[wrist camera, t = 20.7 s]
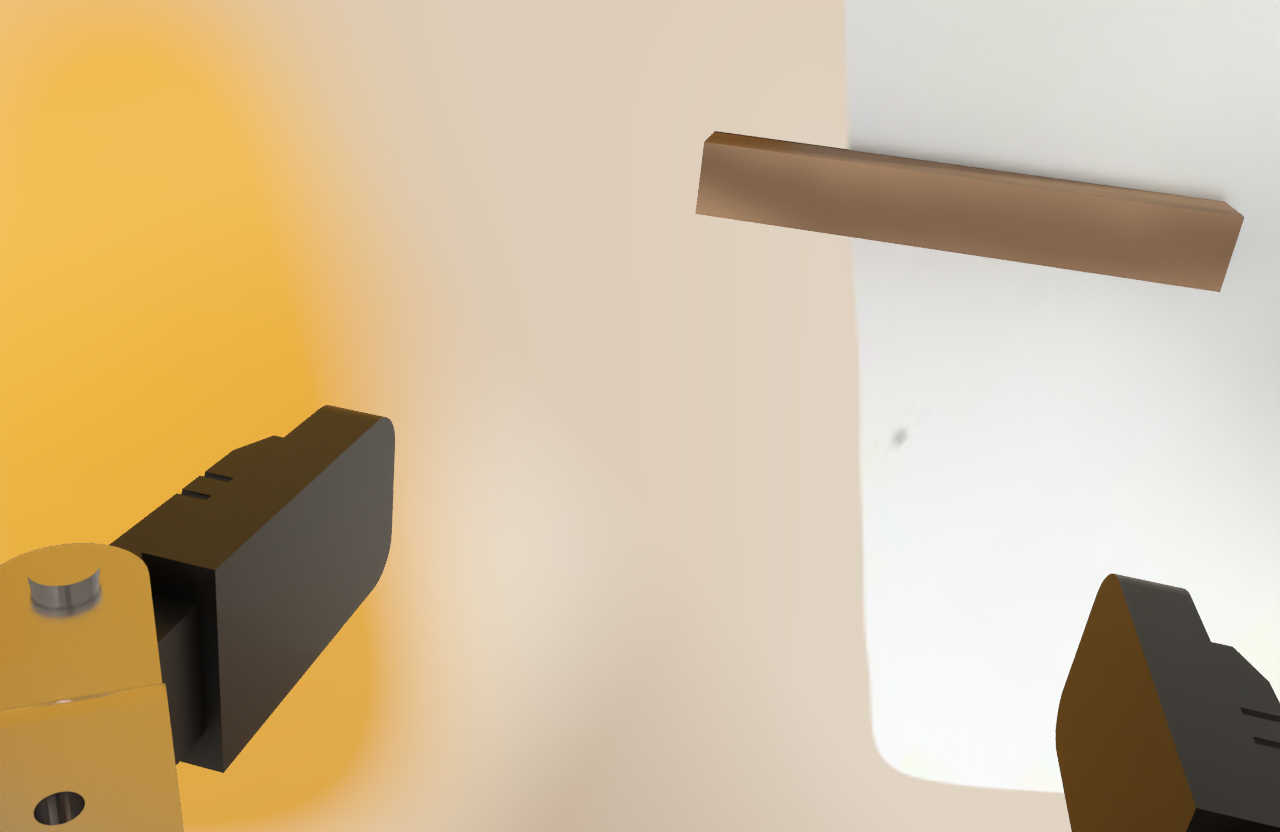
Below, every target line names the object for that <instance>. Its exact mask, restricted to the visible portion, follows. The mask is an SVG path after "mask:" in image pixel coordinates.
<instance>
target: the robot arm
mask: <svg viewBox="0 0 1280 832" xmlns="http://www.w3.org/2000/svg"><path fill="white" fill-rule="evenodd" d="M394 452H395V433H394V427H393V424H392V422H391V421H390V419H388V418H386V417H382V416H376V415H372V414H368V413H363V412H358V411H353V410H349V409H344V408H339V407H334V406H329V405H326V406H323V407H322V408H320V409H319V410H317V411H316V412H315V413H314V414H313V415H311V416H310V417H309V418H308V419H306V420H305V421H304V422H303V423H301V424H300V425H299V426H298V427H296V428H295V429H294V430H293V431H291V432H290V433H289V434H288V435H287V436H285V437H284V438H283V437H278V436H271V437H268V438H266V439H263V440H260V441H258V442H255V443H252V444H249V445H247V446H244V447H241V448H238V449H236V450H233V451H232V452H230V453H229V454H228V455H226V456H225V457H224V458H222V459H221V460H220V461H219V462H217V463H216V464H215V465H213V466H212V467H211V468H209V469H208V470H207V471H206V472H205V476H204V477H203V476H199V477H198V478H196V479H195V480H194V481H193V482H191V483H190V484H188V485H187V486H186V487H185V488H183V490H182V493H181V494H175V495H174V496H173V497H172V498H170V499H169V500H167V501H166V502H165V503H164V504H162V505H161V506H160V507H158V508H157V509H156V510H155V511H153V512H152V513H150V514H149V515H148V516H147V517H145V518H144V519H143V520H141V521H140V522H139V523H137V524H136V525H135V526H133V527H132V528H131V529H129V530H128V531H127V532H126V533H124V534H123V535H122V536H120V537H119V538H118V539H116V540H115V541H114V542H112V543H111V544H110V545H104V544H95V543H74V544H63V545H56V546H50V547H46V548H42V549H38V550H34V551H31V552H28V553H25V554H22V555H20V556H18V557H15V558H13V559H11V560H9V561H7V562H5V563H3V564H2V565H0V832H184V829H183V821H182V812H181V804H180V796H179V788H178V780H177V772H176V765H177V764H178V763H179V762H180V761H181V762H185V763H189V764H192V765H196V766H201V767H204V768H207V769H211V770H215V771H219V772H222V773H224V772H225V770H226V769H227V768H228V767H229V765H230V764H231V763H232V762H233V760H234V759H235V758H236V757H237V756H238V754H239V753H240V752H241V751H242V749H243V748H244V747H245V746H246V744H247V743H248V742H249V741H250V740H251V738H252V737H253V736H254V735H255V733H256V732H257V731H258V730H259V729H260V727H261V726H262V725H263V723H264V722H265V721H266V720H267V719H268V717H269V716H270V715H271V714H272V713H273V711H274V710H275V709H276V708H277V706H278V705H279V704H280V703H281V701H282V700H283V699H284V698H285V697H286V695H287V694H288V693H289V692H290V690H291V689H292V688H293V687H294V685H295V684H296V683H297V682H298V681H299V679H300V678H301V677H302V676H303V674H304V673H305V672H306V671H307V670H308V668H309V667H310V666H311V665H312V663H313V662H314V661H315V660H316V659H317V657H318V656H319V655H320V654H321V652H322V651H323V650H324V649H325V647H326V646H327V645H328V644H329V642H330V641H331V640H332V639H333V638H334V636H335V635H336V634H337V633H338V631H339V630H340V629H341V628H342V627H343V625H344V624H345V623H346V622H347V620H348V619H349V618H350V617H351V616H352V614H353V613H354V612H355V611H356V609H357V608H358V607H359V606H360V605H361V603H362V602H363V601H364V600H365V598H366V597H367V596H368V595H369V593H370V592H371V591H372V590H373V588H374V587H375V586H376V584H377V582H378V581H379V579H380V577H381V574H382V572H383V570H384V567H385V564H386V561H387V558H388V554H389V549H390V543H391V534H392V509H393V479H394ZM1056 751H1057V757H1058V762H1059V767H1060V772H1061V777H1062V783H1063V788H1064V793H1065V798H1066V803H1067V809H1068V813H1069V819H1070V824H1071V829H1072V832H1280V703H1279V701H1278V699H1277V697H1276V695H1275V693H1274V691H1273V689H1272V687H1271V685H1270V683H1269V681H1268V680H1266V679H1265V678H1264V677H1263V676H1262V675H1261V674H1260V673H1259V672H1258V671H1257V670H1256V669H1255V668H1254V667H1253V666H1252V665H1251V664H1250V663H1249V662H1248V661H1247V660H1246V659H1245V658H1244V657H1243V656H1242V655H1241V654H1240V653H1239V652H1237V651H1236V650H1235V649H1234V648H1233V647H1231V646H1226V645H1222V644H1217V643H1213V642H1211V641H1210V639H1209V637H1208V634H1207V632H1206V630H1205V627H1204V625H1203V623H1202V621H1201V618H1200V616H1199V614H1198V612H1197V609H1196V607H1195V605H1194V603H1193V600H1192V598H1191V596H1190V594H1189V592H1188V591H1187V590H1186V589H1183V588H1178V587H1174V586H1169V585H1164V584H1159V583H1155V582H1150V581H1145V580H1141V579H1136V578H1131V577H1127V576H1122V575H1117V574H1110V575H1108V576H1107V577H1106V578H1105V579H1104V581H1103V582H1102V584H1101V586H1100V588H1099V590H1098V593H1097V596H1096V598H1095V601H1094V604H1093V607H1092V610H1091V612H1090V615H1089V618H1088V621H1087V624H1086V627H1085V629H1084V632H1083V635H1082V638H1081V641H1080V644H1079V647H1078V649H1077V652H1076V655H1075V658H1074V661H1073V664H1072V666H1071V669H1070V672H1069V675H1068V678H1067V681H1066V683H1065V686H1064V689H1063V692H1062V696H1061V700H1060V704H1059V709H1058V715H1057V723H1056Z"/></svg>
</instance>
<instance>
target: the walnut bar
mask: <svg viewBox="0 0 1280 832" xmlns="http://www.w3.org/2000/svg"><path fill="white" fill-rule="evenodd" d="M696 214H701V215H708V216H714V217H721V218H728V219H735V220H741V221H748V222H755V223H762V224H768V225H775V226H781V227H788V228H795V229H802V230H808V231H815V232H822V233H828V234H835V235H842V236H848V237H855V238H862V239H868V240H875V241H882V242H889V243H895V244H902V245H909V246H915V247H922V248H929V249H935V250H942V251H949V252H956V253H962V254H969V255H976V256H982V257H989V258H996V259H1002V260H1009V261H1016V262H1022V263H1029V264H1036V265H1043V266H1049V267H1056V268H1063V269H1069V270H1076V271H1083V272H1089V273H1096V274H1103V275H1110V276H1116V277H1123V278H1130V279H1136V280H1143V281H1150V282H1156V283H1163V284H1170V285H1177V286H1183V287H1190V288H1197V289H1203V290H1210V291H1217V292H1220V290H1221V287H1222V284H1223V281H1224V278H1225V275H1226V271H1227V268H1228V265H1229V262H1230V259H1231V256H1232V253H1233V250H1234V247H1235V244H1236V241H1237V238H1238V235H1239V232H1240V229H1241V225H1242V222H1243V219H1244V216H1242V215H1241V214H1240V213H1238V212H1237V211H1236V210H1235V209H1233V208H1232V207H1231V206H1229V205H1228V204H1227V203H1226V202H1223V201H1215V200H1208V199H1201V198H1193V197H1186V196H1179V195H1172V194H1164V193H1157V192H1150V191H1142V190H1135V189H1128V188H1121V187H1113V186H1106V185H1099V184H1091V183H1084V182H1077V181H1070V180H1062V179H1055V178H1048V177H1040V176H1033V175H1026V174H1019V173H1011V172H1004V171H997V170H989V169H982V168H975V167H968V166H960V165H953V164H946V163H938V162H931V161H924V160H917V159H909V158H902V157H895V156H887V155H880V154H873V153H866V152H858V151H851V150H848V149H842V148H835V147H827V146H820V145H813V144H806V143H798V142H791V141H783V140H777V139H769V138H762V137H755V136H748V135H740V134H733V133H725V132H718V131H715V132H714V133H713V134H712V135H711V136H710V137H709V138H708V139H707V140H706V141H705V142H704V149H703V157H702V167H701V174H700V182H699V190H698V199H697V207H696Z"/></svg>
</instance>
